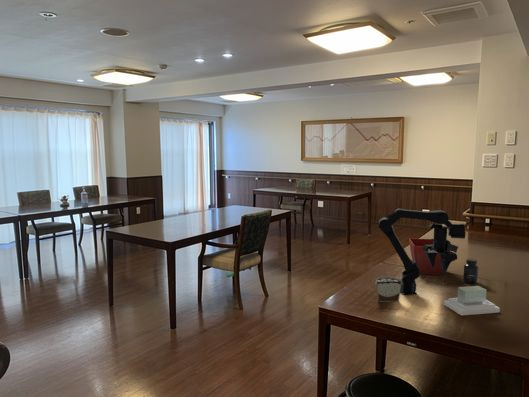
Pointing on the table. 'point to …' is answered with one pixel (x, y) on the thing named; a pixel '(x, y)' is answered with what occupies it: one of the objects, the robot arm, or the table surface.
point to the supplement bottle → (470, 271)
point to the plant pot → (424, 257)
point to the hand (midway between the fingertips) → (438, 269)
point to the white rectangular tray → (471, 307)
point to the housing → (471, 295)
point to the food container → (388, 289)
